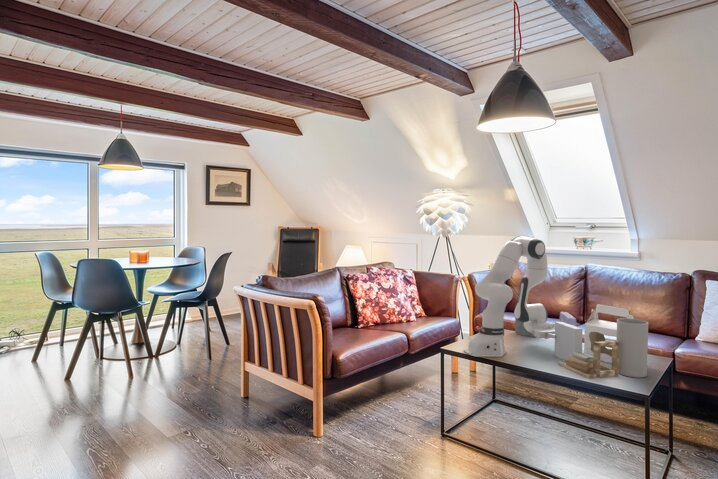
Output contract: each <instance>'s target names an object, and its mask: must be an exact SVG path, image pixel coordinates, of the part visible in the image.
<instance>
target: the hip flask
mask: <svg viewBox="0 0 718 479" xmlns="http://www.w3.org/2000/svg"><path fill="white" fill-rule="evenodd" d="M514 318H515V317H514ZM514 326H515V327H514V330H515V331H514V332H515V334H518V335H521V336H522V335H523V336H526V337H531V338H536V337H535V336H534V335H533V334H532V333H530V332H528V331H527V330H526V329H525V327H524V322H523V323H521V322H519V321H518V320H517V319H516V318H515V322H514Z"/></svg>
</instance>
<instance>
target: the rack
mask: <svg viewBox="0 0 718 479" xmlns="http://www.w3.org/2000/svg"><path fill="white" fill-rule="evenodd" d="M601 346H605V347H606V346H607V347H609V346H611V349H612V363H611V367H610V366H609V365H606V364H603V363H601V360H600V353H601ZM566 363H567V361H566V360H562V361H558V365H559V366H561V367H564V368H565V369H568V370H569V371H572V372H574V373H576V374H578V375H579V376H582V377H584V378H586V379H594V378H595V379H596V378H605V377H607V378H608V377H618V376H619V373H618V371H619V341H617V340H605V341H601V342H594V355H593V368H594V373H591V374H585V373H582V372H580V371H578V370H576V369H574V368H572V367H570V366H567V365H566Z"/></svg>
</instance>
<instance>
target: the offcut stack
mask: <svg viewBox="0 0 718 479" xmlns="http://www.w3.org/2000/svg"><path fill="white" fill-rule="evenodd" d="M566 365H567V366H570V367H572V368H574V369H576V370H578V371H580V372H582V373H585V374H591V373H594V368H593V357H592V356H590V355H587V354H585V353H584V352H583V351H582V352H572V355H569V360H567V363H566Z"/></svg>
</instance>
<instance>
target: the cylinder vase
mask: <svg viewBox="0 0 718 479" xmlns="http://www.w3.org/2000/svg"><path fill="white" fill-rule="evenodd" d="M616 323H617V337H616V341H619V371H618V375H621V376H625V377H628V378H636V379H639V378H640V379H641V378H642V379H643V378H646V377H647V375H648V351H649V346H648V345H649V343H648V342H649V321H646V320H642V319H639V318H638V319H637V318H634V319H629V318H627V317H622V318H621V317H620V318H617V319H616Z"/></svg>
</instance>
